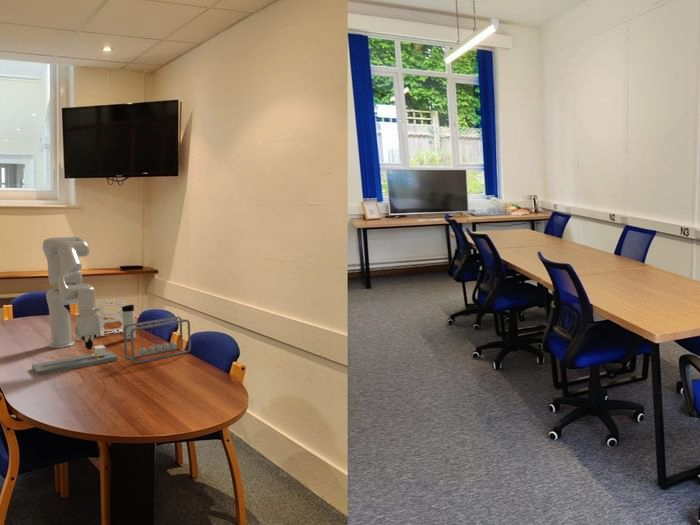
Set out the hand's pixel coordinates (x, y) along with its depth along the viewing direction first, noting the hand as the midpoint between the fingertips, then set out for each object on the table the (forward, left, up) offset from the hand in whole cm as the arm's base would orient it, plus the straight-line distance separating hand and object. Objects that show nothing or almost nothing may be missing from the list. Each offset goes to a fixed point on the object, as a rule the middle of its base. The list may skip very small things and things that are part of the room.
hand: (89, 348), depth 246 cm
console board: (+1, -6, -6) cm, 9 cm away
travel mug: (-29, +29, -7) cm, 41 cm away
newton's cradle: (+14, +29, -7) cm, 32 cm away
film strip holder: (-50, +26, -7) cm, 57 cm away
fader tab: (+1, +5, -4) cm, 6 cm away
